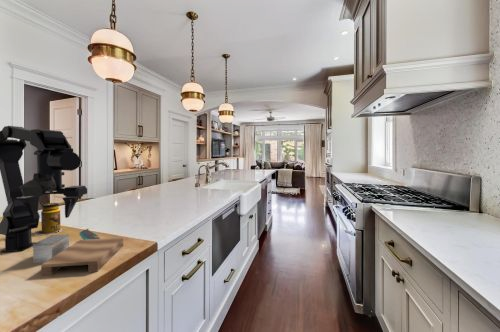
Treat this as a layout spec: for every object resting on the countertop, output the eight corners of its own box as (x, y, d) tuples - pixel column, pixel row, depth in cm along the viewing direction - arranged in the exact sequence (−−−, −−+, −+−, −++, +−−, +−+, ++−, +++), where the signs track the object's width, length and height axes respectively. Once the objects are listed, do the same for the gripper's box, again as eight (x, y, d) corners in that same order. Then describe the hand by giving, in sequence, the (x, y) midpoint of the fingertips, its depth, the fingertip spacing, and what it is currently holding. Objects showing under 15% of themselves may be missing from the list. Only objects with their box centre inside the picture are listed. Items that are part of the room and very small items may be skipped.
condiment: (62, 231, 94) (61, 204, 94) (34, 236, 88) (33, 207, 88) (61, 227, 99) (60, 201, 99) (34, 232, 94) (33, 204, 93)
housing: (52, 252, 75) (52, 234, 74) (69, 251, 76) (68, 234, 75) (33, 263, 67) (33, 244, 67) (52, 262, 68) (51, 243, 67)
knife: (90, 247, 79) (106, 243, 83) (90, 244, 79) (106, 240, 83) (75, 231, 96) (89, 229, 99) (75, 229, 96) (89, 226, 99)
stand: (80, 248, 78) (80, 239, 78) (123, 245, 80) (123, 237, 80) (41, 275, 60) (41, 264, 60) (97, 271, 63) (97, 261, 62)
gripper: (-11, 171, 60) (-9, 227, 61) (65, 171, 63) (67, 224, 64) (24, 168, 71) (25, 216, 72) (87, 169, 74) (88, 214, 75)
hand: (51, 218), depth 71 cm, fingers open, 9 cm apart
